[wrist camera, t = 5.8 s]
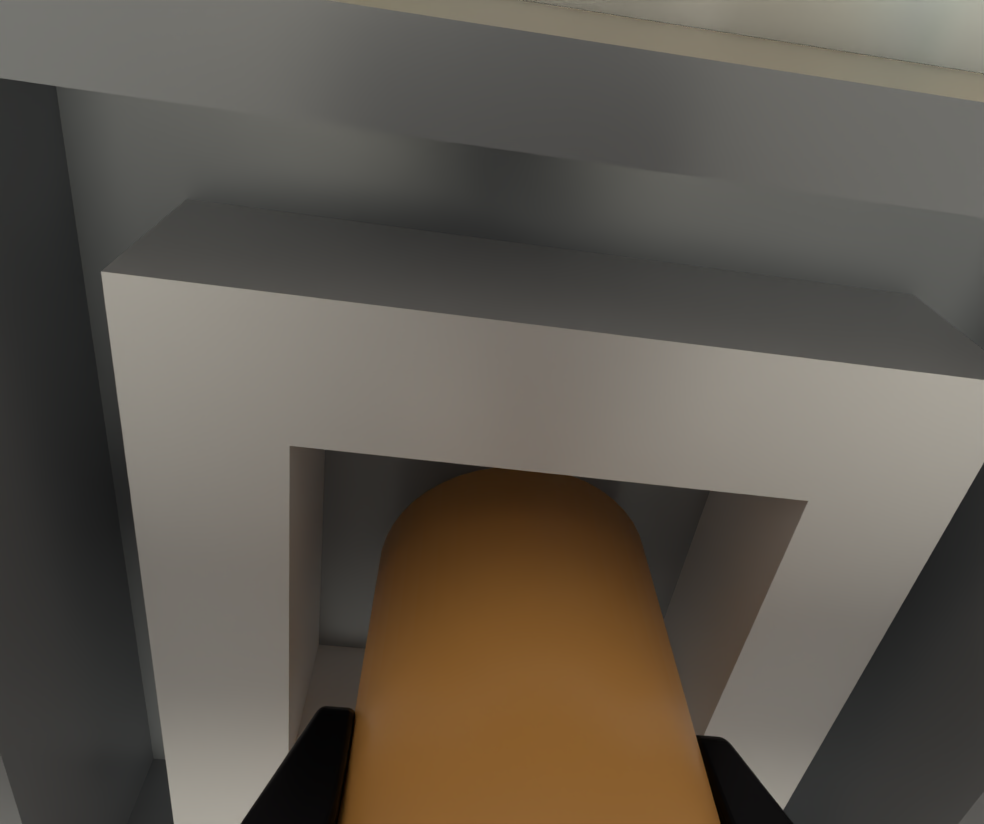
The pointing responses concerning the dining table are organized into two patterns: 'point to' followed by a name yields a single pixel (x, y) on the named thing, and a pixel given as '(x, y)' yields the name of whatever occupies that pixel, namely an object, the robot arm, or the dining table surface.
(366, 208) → the inlet box
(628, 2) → the dining table surface
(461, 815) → the plug
